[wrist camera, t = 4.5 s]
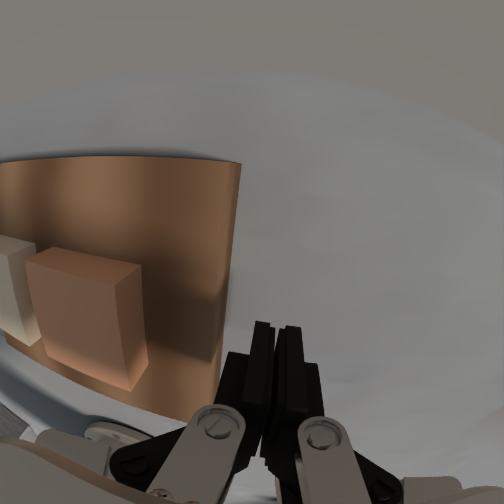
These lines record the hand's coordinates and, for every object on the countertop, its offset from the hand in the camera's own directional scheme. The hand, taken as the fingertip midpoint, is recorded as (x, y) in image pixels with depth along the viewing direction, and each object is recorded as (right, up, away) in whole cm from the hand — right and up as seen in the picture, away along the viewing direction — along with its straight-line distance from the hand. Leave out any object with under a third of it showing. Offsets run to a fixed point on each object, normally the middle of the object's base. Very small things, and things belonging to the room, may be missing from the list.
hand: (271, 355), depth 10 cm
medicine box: (-40, -25, +16) cm, 49 cm away
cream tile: (-14, +2, +1) cm, 14 cm away
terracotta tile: (-8, +1, +1) cm, 8 cm away
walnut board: (-10, +3, +4) cm, 11 cm away
